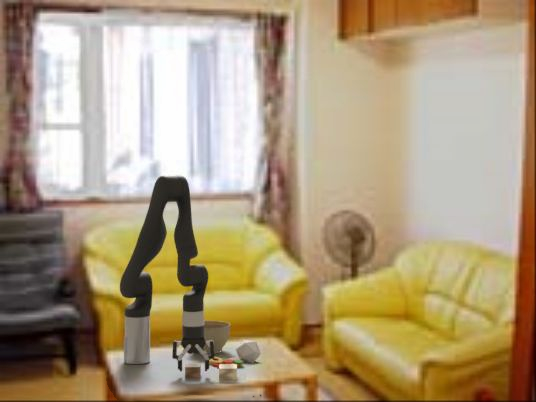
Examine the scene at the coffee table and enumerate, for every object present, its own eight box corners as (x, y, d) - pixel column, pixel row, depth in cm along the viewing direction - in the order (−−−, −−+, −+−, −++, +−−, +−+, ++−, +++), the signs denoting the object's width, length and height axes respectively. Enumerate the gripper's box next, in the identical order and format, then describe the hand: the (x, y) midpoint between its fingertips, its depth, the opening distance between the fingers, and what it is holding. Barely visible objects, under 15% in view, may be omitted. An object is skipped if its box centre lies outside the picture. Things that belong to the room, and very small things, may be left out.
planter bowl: (238, 351, 332) (238, 324, 331) (208, 358, 320) (208, 330, 320) (210, 345, 343) (210, 318, 343) (180, 351, 331) (180, 324, 331)
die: (264, 362, 318) (255, 339, 322) (262, 355, 310) (252, 332, 315) (243, 370, 317) (234, 347, 322) (241, 364, 310) (232, 340, 314)
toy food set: (203, 365, 312) (203, 356, 312) (237, 362, 317) (237, 353, 316) (214, 373, 299) (214, 364, 299) (249, 370, 304) (249, 361, 304)
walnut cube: (185, 381, 288) (185, 367, 288) (186, 377, 293) (186, 363, 293) (199, 381, 288) (199, 367, 288) (200, 377, 293) (200, 363, 293)
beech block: (218, 380, 286) (218, 368, 286) (219, 375, 292) (219, 364, 292) (236, 380, 286) (236, 368, 286) (236, 375, 292) (236, 364, 292)
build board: (209, 385, 283) (209, 382, 283) (210, 376, 295) (210, 373, 295) (245, 385, 283) (245, 382, 283) (245, 376, 295) (245, 373, 295)
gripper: (171, 325, 286) (171, 373, 286) (213, 325, 286) (214, 373, 287) (173, 321, 293) (173, 368, 294) (214, 321, 294) (214, 368, 294)
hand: (193, 370), depth 290 cm, fingers open, 8 cm apart
